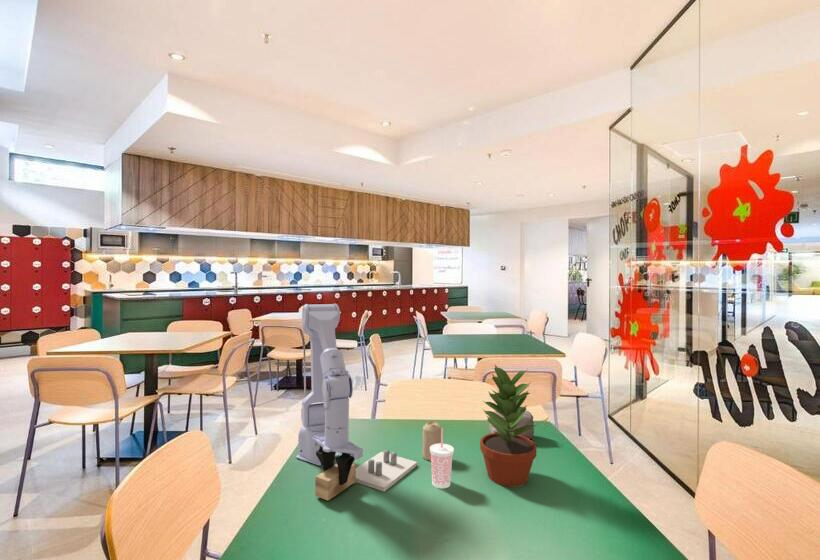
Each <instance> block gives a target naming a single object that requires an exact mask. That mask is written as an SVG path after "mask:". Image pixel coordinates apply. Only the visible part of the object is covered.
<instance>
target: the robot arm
mask: <svg viewBox="0 0 820 560" xmlns="http://www.w3.org/2000/svg"><path fill="white" fill-rule="evenodd" d="M301 310H302V313H301V315H302V317H301V320H302V322H301V323H302V327H301V328H302V331H303V333H304V334H306V335H308V336H309V341H310V375H311V376H310V379H311V391H310V393H309V394H308V395H306V396H305V397H304V398H303V399H302V401H301V408H300V409H301V411H300V413H301V414H300V415H301V416H300V417H301V425H302V426H301V427H300V429H299V432H298V436H297V437H298V440H297V442H298V443H297V446H298V447H297V450H298V451H297V452H298V453H297V455H296V456H295V458H297V459H298V460H302V461H305V462H308V463H311V464H313V465H316V466H321V468H322V471H323V472H324V471H326V470H328V469H329V468H331V467H333V466H334V465H335V463H336V464H337V465H338V471H339V484H340V485H343V484H345V483H346V482H347V480H348V476H349V472H350V469H351V466H352V464H353V463H354V462H355V460H360V459H361V458H363V456H364V454H363V451H364V449H363V448H362V447H359V446H358V445H356V444H354V443H353V442H351V441H350V439H349V436H350V435H349V433H350V431H349V430H350V427H349V423H350V420H349V419H350V413H349V412H350V399H351V398H352V396H353V393H354V392H353V379H352V376H351V374H350V372H349V371H348V370H347V369H346V365H345V360H344V355H343V352H342V351H341V350H340V349H338V348H337V339H336V329H337V328H338V324H339V322H340V319H341V312H340V311H341V309H340V307H339V304H337V303H331V304H330V303H329V304H328V303H325V304H323V303H322V304H320V303H319V304H308V303H305V304H304V305H303V307H302V309H301ZM339 453H340V454H339Z"/></svg>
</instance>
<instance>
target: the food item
mask: <svg viewBox="0 0 820 560" xmlns="http://www.w3.org/2000/svg"><path fill="white" fill-rule="evenodd" d="M492 412H494V413H496V414H497V415H499V416H500V417H502V418H503V419H504V420H505V421H506V419H505V418H504V416H502V415H501V414H500V413H498V412H497V411H495V410H493V411H492ZM522 416H523V417H522V419H521V420H520V422H519V423H518V424H517V426H516V427H515V428H513V429H512V430H514V429H516V428H517V429H518V428H520V427H523V426H525V425H532V426H535V425H534V416H533V415H532V412H530V411H529V410H526V411H525V412H524V413H523V414H522ZM490 418H491V417H490ZM488 428H489V431H490V434H491V433H495V432H497V433H500V432H499V431H498V430H497V429H495V428H494V427H493V426H492V425H491V424H490V423H489V422H488ZM534 429H535V428H534V427H533V428H532V429H530V430H528V431H526V432H523V433H521V434H519V435H521V436H524V437H526V438H529V439H534V440H535V437H534V434H535V432H534V431H535V430H534ZM493 431H494V432H493ZM510 433H512V432H510Z"/></svg>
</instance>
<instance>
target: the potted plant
mask: <svg viewBox="0 0 820 560" xmlns="http://www.w3.org/2000/svg"><path fill="white" fill-rule="evenodd" d="M528 369H529V368H527V369H526V370H520V371H519V372H517V373H516V374H515V375H514V376H513V377H512V378H510V376H509V374H508V373H507V372H506V371H505V370H504V369H502V367H498V366H497V365H496V364H494V371H495V374H496V376H495V375H494V374H491V375H492V380H493V382H494V383H495V385H496V387H497V389H498V392H496V391H495V390H493V389H491V390H492V392H493V393H491V392H490V391H487V392H488V393H489V397H490V398H491V399H492V400H493V401H494V402H492V401H484V399H483V400H482V402H483V403H484V404H485V405H487V406H488V407H490V409H493V411H495V412H496V411H497V412H498V413H500V414H501V415H502V416H504V418H505V419H506V421H505V420H504V419H503V418H502V417H500V416H499V415H497V414H496V413H494V412H493V411H492V410H484V409H482V408H481V409H482V411H483V412H484V413H485V415H486V417H487V418H486V419H487V422H488V424H489V423H490V424H491V425H492V426H493V427H494V428H495V429H497V430H498V431H499V432H500V433H497V432H495V433H491V432H490V433H488V434H485V435H483V436H482V437H480V440H479V449H480V452H481V453H482V455H483V461H484V464H485V470H486V473H487V477H488V479H490V481H492V482H493V483H495V484H497V485H500V486H503V487H510V488H511V487H515V488H516V487H520V486H521V485H522V486H524V485H525V484H526V483H527V482H528V480H529V475H530V473H531V469H532V466H533V461H534V460H535V458H536V457H537V444H536V443H535V442H534V441H533V440H530V439H529V438H526V437H524V436H521V435H519V434H521V433H523V432H526V431H528V430H530V429H532V428H534V427H536V426H537V424H535V425H534V426H532V425H525V426H523V427H520V428H518V429H517V428H516V429H514V430H512V429H513V428H515V427H516V426H517V424H518V423H519V422H520V420H521V419H522V417H523V416H522V414H523V413H524V412H525V411H527V407H528V404H527V405H525V406H522V405H523V403H524V402H525V401H526V399H527V397H528V396H529V395H530V394H531V392H528V391H530V390H529V389H528V390H527V391H526V392H524V391H525V390H526V389H527V388H528V387H530V384H531V383H532V382H531V381H530V382H529V383H520V384H518V385H516V384H517V383H518V381H519V380H520V379H521V378H522V377H523V375H524V374H525V373H526V372H527V371H528ZM490 417H491V418H490ZM493 432H494V431H493ZM510 432H512V433H510ZM522 486H521V487H522Z"/></svg>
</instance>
